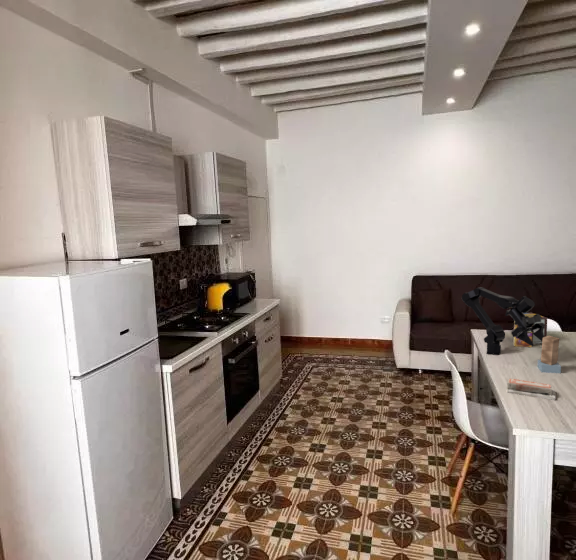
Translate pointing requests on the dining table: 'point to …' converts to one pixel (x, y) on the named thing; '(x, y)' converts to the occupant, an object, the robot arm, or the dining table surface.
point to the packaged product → (530, 389)
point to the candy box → (519, 342)
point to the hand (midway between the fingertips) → (538, 344)
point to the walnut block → (550, 350)
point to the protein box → (543, 320)
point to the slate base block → (549, 367)
